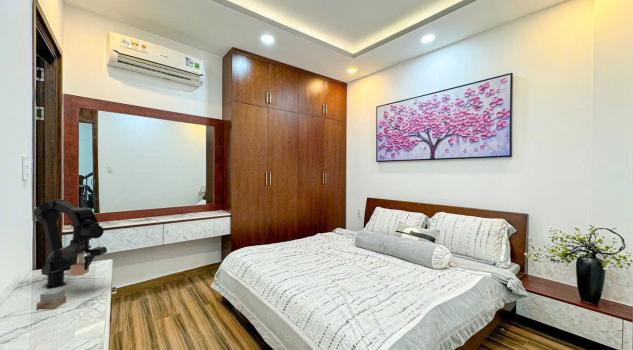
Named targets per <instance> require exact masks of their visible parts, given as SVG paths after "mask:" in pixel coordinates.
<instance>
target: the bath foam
mask: <svg viewBox="0 0 633 350" xmlns="http://www.w3.org/2000/svg"><path fill="white" fill-rule="evenodd" d="M71 240H73V236H72V238H71ZM83 252H85V251H83ZM84 257H85V254H78V257H77V263H82V262H85V259H84ZM65 274H66V275H68V276H71V267H70V270H66V271H65Z"/></svg>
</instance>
